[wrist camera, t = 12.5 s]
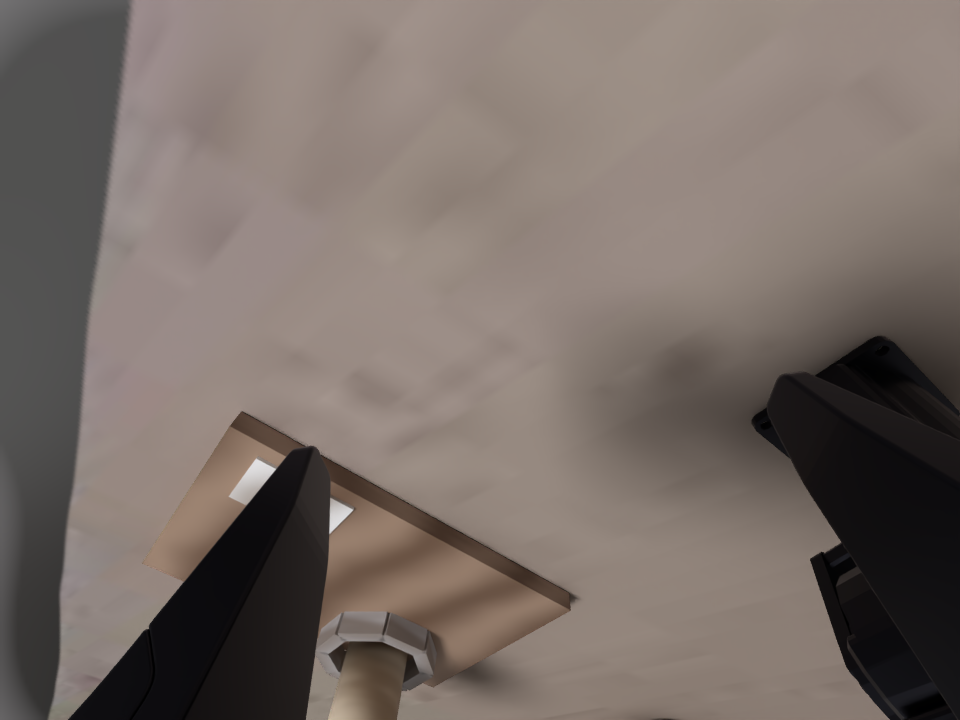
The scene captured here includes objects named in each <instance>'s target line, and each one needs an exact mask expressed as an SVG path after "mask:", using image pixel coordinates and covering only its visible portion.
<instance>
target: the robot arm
mask: <svg viewBox="0 0 960 720" xmlns="http://www.w3.org/2000/svg"><path fill="white" fill-rule="evenodd" d="M881 346H882V348H881V349H879V350H877V349H878V348H879V347H881ZM876 350H877V351H876ZM959 415H960V413H959V411H958V410H957V409H956V408H955V406H954V405H953V404H952V403H951V402H950V401H949V400H948V399H947V398H946V397H945V396H944V395H943V394H942V393H941V392H940V391H939V390H938V389H937V388H936V386H935V385H934V384H933V383H932V382H931V381H930V380H929V379H928V378H927V377H926V376H925V375H924V374H923V373H922V372H921V371H920V370H919V369H918V367H917V366H916V365H915V364H914V363H913V362H912V361H911V360H910V359H909V358H908V357H907V356H906V355H905V354H904V353H903V352H902V351H901V350H900V349H899V347H898V346H897V345H896V344H895V343H894V342H892V341H891V340H890V339H888V338H886V337H885V336H878V337H874V338H872V339H870V340H869V341H867V342H866V343H864V344H863V345H861V346H860V347H858V348H857V349H855V350H854V351H852V352H850V353H849V354H847V355H846V356H844V357H843V358H841V359H840V360H838V361H837V362H835V363H834V364H832V365H831V366H829V367H828V368H826V369H825V370H823V371H822V372H820V373H819V374H817V375H816V376H813V375H811V374H809V373H806V372H793V373H787V374H782V375H781V376H779V377H778V379H777V380H776V383H775V385H774V388H773V390H772V393H771V395H770V398H769V400H768V403H767V408H766V409H764V410H763V411H761V412H760V413H758V414H757V415H755V416H754V417H753V419H752V425H753V426H754V428H755V429H756V431H757V432H758V433H759V434H761V435H762V436H763V437H764V438H766V439H767V440H768V441H769V442H770V443H772V444H773V445H774V446H775V447H776V448H778V449H779V450H780V451H781V452H783V453H784V454H785V455H786V456H787V457H789V458H790V459H791V461H792V463H793V465H794V467H795V469H796V471H797V473H798V474H799V476H800V478H801V480H802V482H803V483H804V485H805V487H806V488H807V490H808V492H809V493H810V495H811V496H812V498H813V499H814V501H815V502H816V504H817V506H818V507H819V509H820V510H821V512H822V513H823V515H824V516H825V518H826V519H827V521H828V522H829V524H830V525H831V527H832V528H833V530H834V532H835V533H836V535H837V536H838V538H839V539H840V541H841V542H842V543H840V544H839V545H837V546H835V547H834V548H832V549H830V550H829V551H827V552H825V553H824V552H820V553H819V554H817V555H816V556H814V557H812V558H811V559H810V561H811V564H812V567H813V570H814V573H815V576H816V579H817V582H818V585H819V588H820V591H821V594H822V597H823V600H824V603H825V606H826V609H827V612H828V615H829V618H830V621H831V624H832V627H833V630H834V633H835V636H836V639H837V642H838V645H839V647H840V650H841V653H842V656H843V659H844V662H845V665H846V667H847V669H848V670H849V672H850V673H851V674H852V675H853V676H854V677H855V678H856V680H857V681H858V682H859V684H860V686H861V687H862V689H863V690H864V691H865V692H866V693H867V694H868V695H869V696H870V698H871V699H872V700H873V701H874V703H875V704H876V705H877V706H878V707H879V708H880V709H881V710H882V711H883V713H884V714H885V715H886V716H887V717H888V718H889V719H890V720H960V417H959ZM766 421H767V422H766ZM763 422H766V423H764V424H762V423H763ZM330 494H331V480H330V475H329V472H328V469H327V467H326V465H325V463H324V461H323V459H322V457H321V455H320V453H319V450H318V449H317V448H316V447H315V446H307V447H301V448H295V449H293V450H292V451H290V453H289V454H288V455H287V456H286V457H285V459H284V460H283V461H282V462H281V464H280V465H279V466H278V467H277V468H276V470H275V471H274V472H273V473H272V475H271V476H270V477H269V478H268V479H267V481H266V482H265V483H264V484H263V486H262V487H261V488H260V489H259V491H258V492H257V493H256V494H255V495H254V497H253V498H252V499H251V500H250V502H249V503H248V504H247V505H246V506H245V508H244V509H243V510H242V511H241V513H240V514H239V515H238V516H237V518H236V519H235V520H234V521H233V522H232V524H231V525H230V526H229V527H228V529H227V530H226V531H225V532H224V533H223V535H222V536H221V537H220V538H219V540H218V541H217V542H216V543H215V544H214V546H213V547H212V548H211V549H210V551H209V552H208V553H207V554H206V556H205V557H204V558H203V559H202V560H201V562H200V563H199V564H198V565H197V567H196V568H195V569H194V570H193V571H192V573H191V574H190V575H189V576H188V578H187V579H186V580H185V581H184V583H183V584H182V585H181V586H180V587H179V589H178V590H177V591H176V592H175V594H174V595H173V596H172V597H171V598H170V600H169V601H168V602H167V603H166V605H165V606H164V607H163V608H162V609H161V611H160V612H159V613H158V614H157V616H156V617H155V618H154V619H153V621H152V622H151V623H150V624H149V629H146V630H144V631H143V633H142V634H141V635H140V636H139V637H138V639H137V640H136V641H135V642H134V644H133V645H132V646H131V647H130V648H129V650H128V651H127V652H126V653H125V655H124V656H123V657H122V658H121V659H120V660H119V662H118V663H117V664H116V665H115V666H114V668H113V669H112V670H111V671H110V672H109V674H108V675H107V676H106V677H105V678H104V679H103V681H102V682H101V683H100V684H99V685H98V687H97V688H96V689H95V690H94V691H93V692H92V694H91V695H90V696H89V697H88V698H87V699H86V700H85V701H84V702H83V704H82V705H81V706H80V707H79V708H78V709H77V710H76V711H75V712H74V714H73V715H72V716H71V717H70V718H69V719H68V720H306V714H307V707H308V700H309V693H310V686H311V680H312V673H313V666H314V659H315V652H316V645H317V638H318V631H319V624H320V617H321V610H322V603H323V596H324V589H325V582H326V576H327V568H328V558H329V530H330Z"/></svg>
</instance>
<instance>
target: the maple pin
mask: <svg viewBox="0 0 960 720" xmlns="http://www.w3.org/2000/svg"><path fill="white" fill-rule="evenodd" d="M407 656H408V653H406V652H404V651H402V650H400V649H397V648H395V647H393V646H391V645H388V644H386V643H384V642H378V641H349V644H348V648H347V652H346V655H345V659H344V663H343V666H342V670H341V674H340V677H339V681H338V685H337V688H336V692H335V696H334V699H333V703H332V707H331V710H330V714H329V718H328V720H397V715H398V709H399V703H400V697H401V691H402V685H403V679H404V673H405V667H406V662H407Z"/></svg>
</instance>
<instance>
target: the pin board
mask: <svg viewBox="0 0 960 720" xmlns="http://www.w3.org/2000/svg"><path fill="white" fill-rule="evenodd" d="M301 447H304V446H303V445H301V444H299V443H297V442H295V441H294V440H292V439H290V438H288V437H286V436H285V435H283V434H281V433H279V432H277V431H276V430H274V429H272V428H270V427H268V426H267V425H265V424H263V423H261V422H259V421H258V420H256V419H254V418H252V417H250V416H249V415H247V414H245V413H243V412H241V413H240V414H239V415H238V416H237V418H236V419H235V420H234V421H233V423H232V424H231V425H230V427H229V428H228V430H227V431H226V433H225V434H224V436H223V438H222V439H221V441H220V442H219V444H218V445H217V447H216V448H215V450H214V452H213V453H212V455H211V456H210V458H209V459H208V461H207V463H206V464H205V466H204V467H203V469H202V470H201V472H200V473H199V475H198V477H197V478H196V480H195V481H194V483H193V484H192V486H191V487H190V489H189V491H188V492H187V494H186V495H185V497H184V498H183V500H182V502H181V503H180V505H179V506H178V508H177V509H176V511H175V512H174V514H173V516H172V517H171V519H170V520H169V522H168V523H167V525H166V527H165V528H164V530H163V531H162V533H161V534H160V536H159V537H158V539H157V541H156V542H155V544H154V545H153V547H152V548H151V550H150V551H149V553H148V555H147V556H146V558H145V559H144V561H143V562H142V564H145V565H147V566H149V567H152V568H154V569H156V570H159V571H161V572H163V573H166V574H168V575H170V576H173V577H175V578H177V579H180V580H182V581H185V580H186V579H187V578H188V576H189V575H190V574H191V573H192V571H193V570H194V569H195V568H196V567H197V565H198V564H199V563H200V562H201V560H202V559H203V558H204V557H205V556H206V554H207V553H208V552H209V551H210V549H211V548H212V547H213V546H214V544H215V543H216V542H217V541H218V540H219V538H220V537H221V536H222V535H223V533H224V532H225V531H226V530H227V529H228V527H229V526H230V525H231V524H232V522H233V521H234V520H235V519H236V518H237V516H238V515H239V514H240V513H241V511H242V510H243V509H244V508H245V506H246V505H247V504H248V503H249V502H250V500H251V499H252V498H253V497H254V495H255V494H256V493H257V492H258V491H259V489H260V488H261V487H262V486H263V484H264V483H265V482H266V481H267V479H268V478H269V477H270V476H271V475H272V473H273V472H274V471H275V470H276V468H277V467H278V466H279V465H280V464H281V462H282V461H283V460H284V459H285V457H286V456H287V455H288V454H289V453H290V451H292V450H293V449H295V448H301ZM321 457H322V459H323V461H324V463H325V465H326V467H327V469H328V472H329V475H330V480H331V494H330V530H329V558H328V568H327V576H326V582H325V589H324V596H323V603H322V610H321V617H320V624H319V631H318V640H317V645H316V652H315V655H316V657H317V658H318V660H319V662H320V663H321V665H322V667H323V668H324V670H325V672H326V673H329V675H330V676H332V677H335V678H337V679H339V677H340V674H341V670H342V666H343V663H344V659H345V655H346V652H347V651H345V650H347V648H348V644H349V641H378V642H384V643H386V644H388V645H391V646H393V647H395V648H397V649H400V650H402V651H404V652H406V653H408V656H407V662H406V667H405V673H404V679H403V685H402V691H407V689H408V690H411V689H413V688H415V687H416V686H418V685H420V684H422V683H424V684H426V685H429V686H431V687H435V686H436V685H438V684H440V683H442V682H443V681H445V680H447V679H449V678H451V677H452V676H454V675H456V674H458V673H460V672H461V671H463V670H465V669H467V668H469V667H470V666H472V665H474V664H476V663H478V662H479V661H481V660H483V659H485V658H486V657H488V656H490V655H492V654H494V653H495V652H497V651H499V650H501V649H503V648H504V647H506V646H508V645H510V644H512V643H513V642H515V641H517V640H519V639H520V638H522V637H524V636H526V635H528V634H529V633H531V632H533V631H535V630H537V629H538V628H540V627H542V626H544V625H546V624H547V623H549V622H551V621H553V620H555V619H556V618H558V617H560V616H562V615H563V614H565V613H567V612H569V611H571V609H570V598H569V593H568V592H566V591H564V590H563V589H561V588H559V587H557V586H555V585H554V584H552V583H550V582H548V581H546V580H544V579H543V578H541V577H539V576H537V575H535V574H534V573H532V572H530V571H528V570H526V569H525V568H523V567H521V566H519V565H517V564H516V563H514V562H512V561H510V560H508V559H507V558H505V557H503V556H501V555H499V554H498V553H496V552H494V551H492V550H490V549H489V548H487V547H485V546H483V545H481V544H480V543H478V542H476V541H474V540H472V539H471V538H469V537H467V536H465V535H463V534H461V533H460V532H458V531H456V530H454V529H452V528H451V527H449V526H447V525H445V524H443V523H442V522H440V521H438V520H436V519H434V518H433V517H431V516H429V515H427V514H425V513H424V512H422V511H420V510H418V509H416V508H415V507H413V506H411V505H409V504H407V503H406V502H404V501H402V500H400V499H398V498H397V497H395V496H393V495H391V494H389V493H387V492H386V491H384V490H382V489H380V488H378V487H377V486H375V485H373V484H371V483H369V482H368V481H366V480H364V479H362V478H360V477H359V476H357V475H355V474H353V473H351V472H350V471H348V470H346V469H344V468H342V467H341V466H339V465H337V464H335V463H333V462H332V461H330V460H328V459H326V458H324V457H323V456H321Z"/></svg>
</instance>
